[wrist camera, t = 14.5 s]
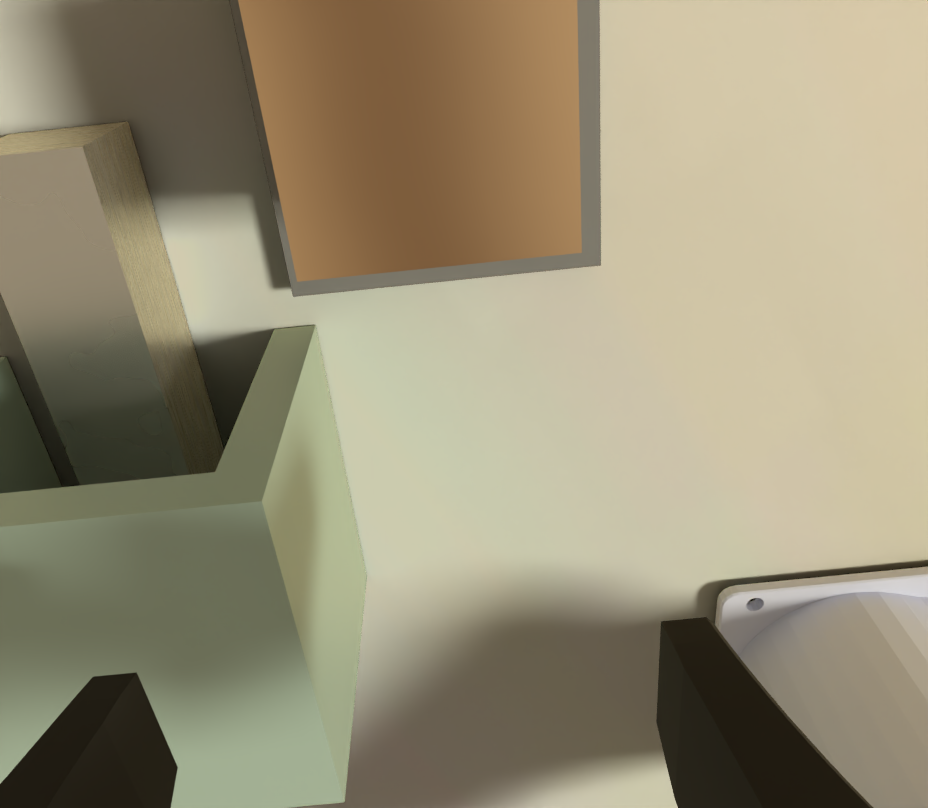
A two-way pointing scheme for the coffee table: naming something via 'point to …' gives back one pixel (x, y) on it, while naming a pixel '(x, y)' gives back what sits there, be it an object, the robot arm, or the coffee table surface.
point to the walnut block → (420, 130)
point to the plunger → (101, 306)
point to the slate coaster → (587, 258)
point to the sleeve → (196, 594)
